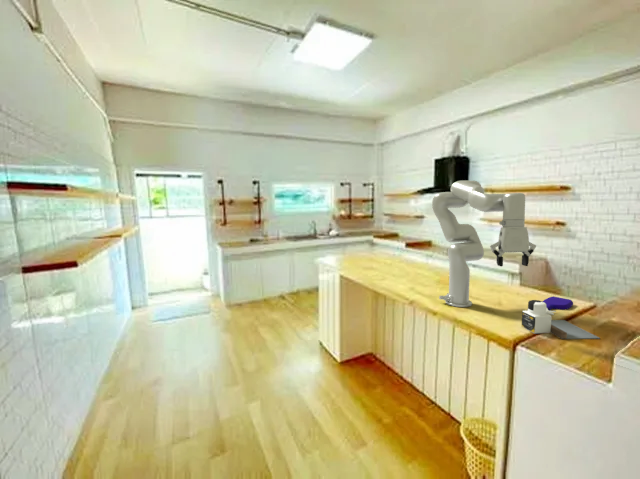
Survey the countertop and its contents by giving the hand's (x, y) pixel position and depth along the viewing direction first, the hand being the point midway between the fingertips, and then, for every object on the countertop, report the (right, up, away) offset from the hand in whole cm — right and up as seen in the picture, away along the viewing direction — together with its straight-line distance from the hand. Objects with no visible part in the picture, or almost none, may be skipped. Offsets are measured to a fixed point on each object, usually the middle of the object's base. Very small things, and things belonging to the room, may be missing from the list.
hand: (512, 265), depth 127 cm
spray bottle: (+35, -23, +25) cm, 49 cm away
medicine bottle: (+9, -26, 0) cm, 28 cm away
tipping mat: (+20, -26, 0) cm, 33 cm away
